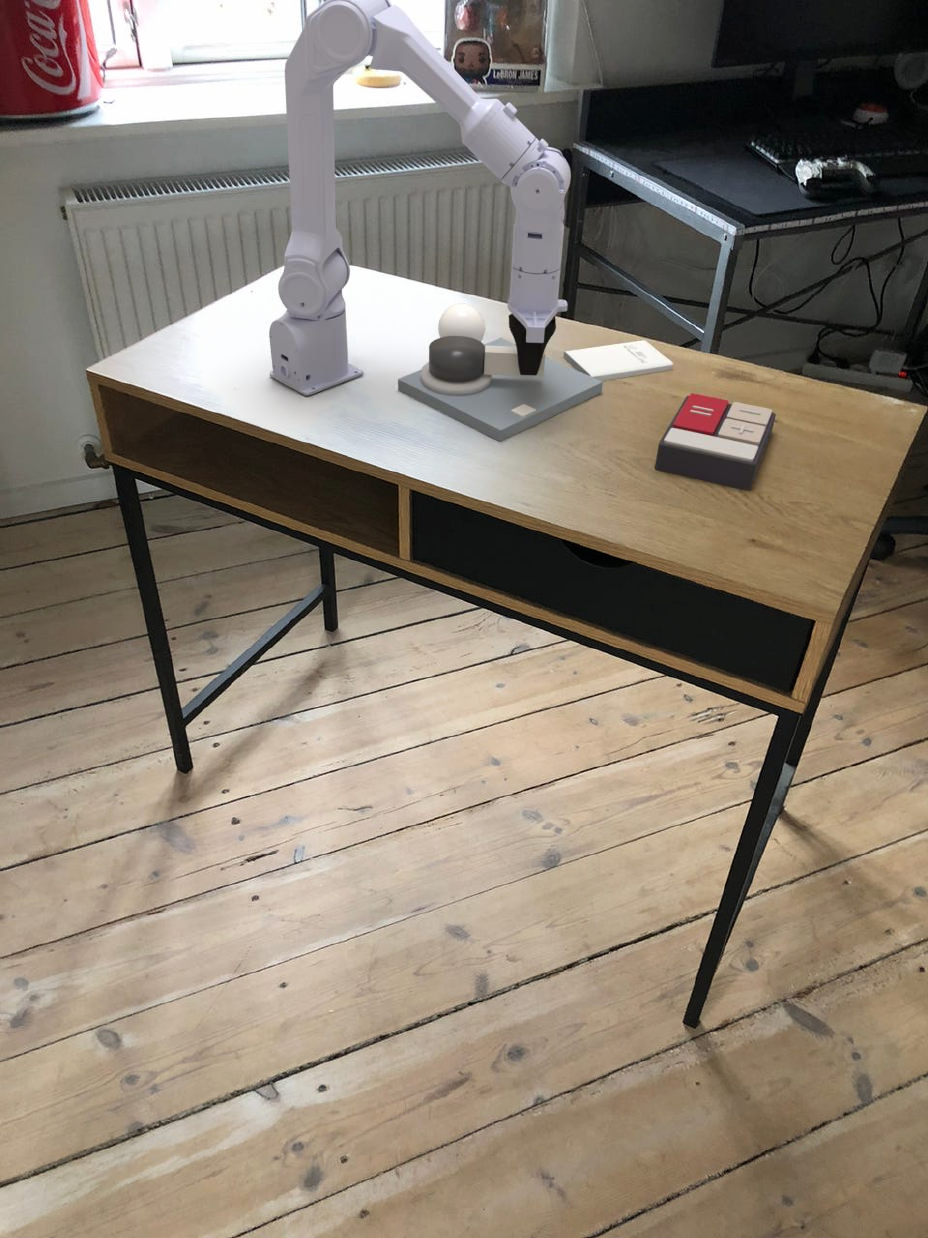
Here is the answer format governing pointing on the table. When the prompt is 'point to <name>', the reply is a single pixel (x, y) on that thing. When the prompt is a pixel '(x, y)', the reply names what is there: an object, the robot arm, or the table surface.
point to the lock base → (503, 396)
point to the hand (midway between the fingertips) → (528, 373)
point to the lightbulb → (462, 322)
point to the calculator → (716, 441)
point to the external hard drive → (618, 360)
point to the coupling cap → (473, 360)
